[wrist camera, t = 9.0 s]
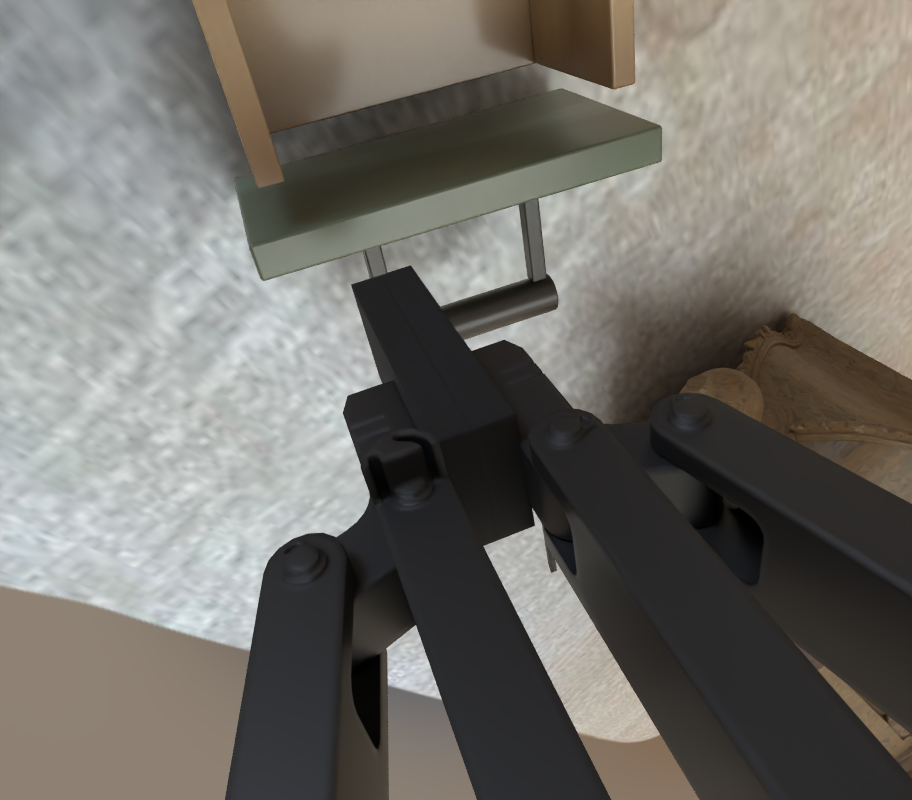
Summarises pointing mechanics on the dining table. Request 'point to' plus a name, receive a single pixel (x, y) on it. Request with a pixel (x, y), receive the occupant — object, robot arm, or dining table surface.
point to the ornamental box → (828, 435)
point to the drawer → (428, 147)
